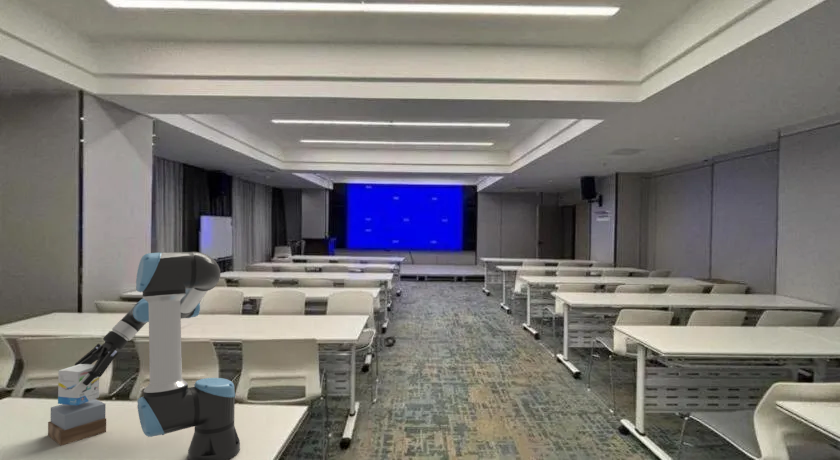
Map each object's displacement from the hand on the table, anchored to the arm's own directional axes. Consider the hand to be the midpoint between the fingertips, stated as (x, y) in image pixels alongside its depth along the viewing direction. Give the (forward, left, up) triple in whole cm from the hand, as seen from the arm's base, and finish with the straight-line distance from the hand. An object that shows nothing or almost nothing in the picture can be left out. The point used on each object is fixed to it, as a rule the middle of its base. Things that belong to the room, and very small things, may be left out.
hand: (68, 389), depth 156 cm
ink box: (0, -3, -5) cm, 6 cm away
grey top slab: (0, -3, -12) cm, 12 cm away
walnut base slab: (0, -3, -17) cm, 17 cm away
